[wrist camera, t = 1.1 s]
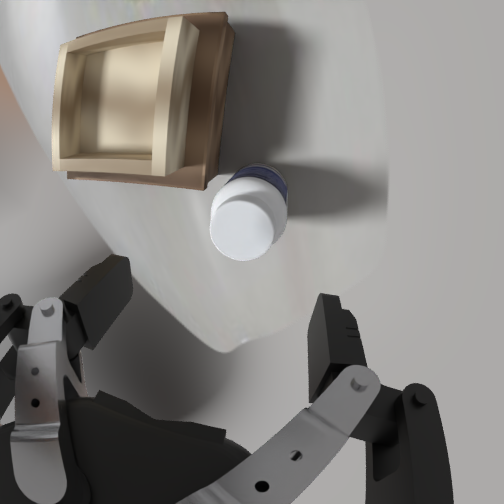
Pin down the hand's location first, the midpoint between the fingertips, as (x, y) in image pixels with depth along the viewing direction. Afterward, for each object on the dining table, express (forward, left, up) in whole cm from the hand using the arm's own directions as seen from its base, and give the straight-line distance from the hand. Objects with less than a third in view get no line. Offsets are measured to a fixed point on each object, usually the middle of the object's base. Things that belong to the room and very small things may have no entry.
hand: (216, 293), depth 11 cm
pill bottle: (0, 0, -16) cm, 16 cm away
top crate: (-8, -11, -11) cm, 17 cm away
